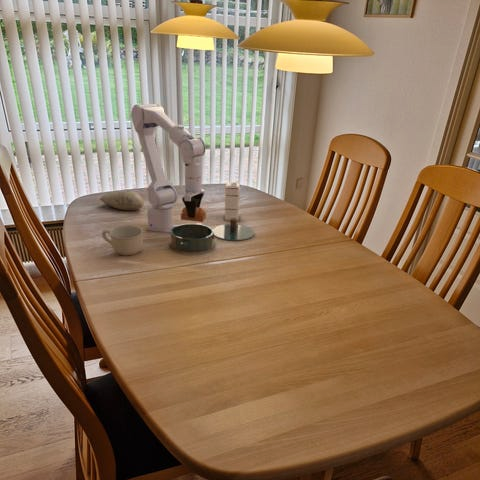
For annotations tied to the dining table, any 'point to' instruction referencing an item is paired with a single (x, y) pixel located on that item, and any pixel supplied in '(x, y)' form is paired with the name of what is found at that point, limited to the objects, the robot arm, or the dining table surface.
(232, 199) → the white toy tower
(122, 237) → the teacup
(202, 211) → the bread
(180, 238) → the pot
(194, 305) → the dining table surface
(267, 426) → the dining table surface
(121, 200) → the rock
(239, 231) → the lid
